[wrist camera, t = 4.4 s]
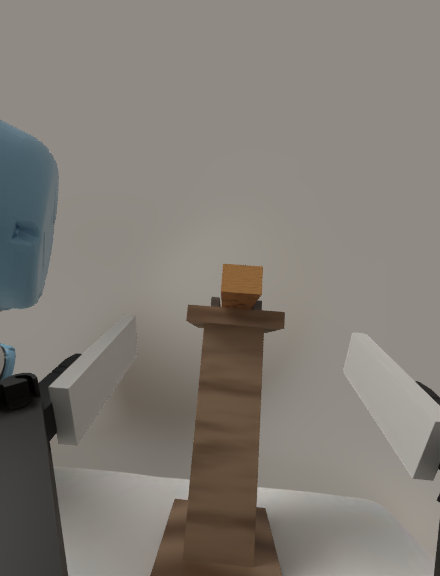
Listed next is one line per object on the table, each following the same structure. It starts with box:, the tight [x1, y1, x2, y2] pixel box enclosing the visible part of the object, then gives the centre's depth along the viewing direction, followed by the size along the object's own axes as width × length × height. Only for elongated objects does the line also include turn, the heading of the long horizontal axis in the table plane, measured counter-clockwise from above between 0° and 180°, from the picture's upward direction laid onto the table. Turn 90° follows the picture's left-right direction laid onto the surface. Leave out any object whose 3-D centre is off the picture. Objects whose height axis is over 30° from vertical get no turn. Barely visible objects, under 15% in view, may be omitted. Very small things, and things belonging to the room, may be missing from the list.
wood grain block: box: [221, 264, 263, 309], centre depth 34 cm, size 24×4×2 cm, turn 179°
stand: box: [150, 297, 285, 576], centre depth 36 cm, size 14×14×31 cm
